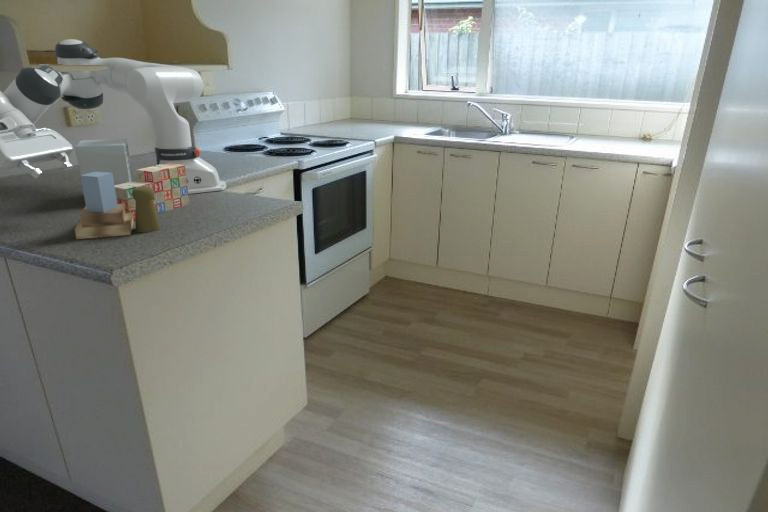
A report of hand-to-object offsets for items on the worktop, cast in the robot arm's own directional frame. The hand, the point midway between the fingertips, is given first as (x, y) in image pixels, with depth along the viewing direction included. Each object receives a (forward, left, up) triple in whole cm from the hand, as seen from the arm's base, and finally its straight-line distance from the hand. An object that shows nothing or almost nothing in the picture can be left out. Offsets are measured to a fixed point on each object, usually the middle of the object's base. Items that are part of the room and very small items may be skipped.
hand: (55, 172), depth 132 cm
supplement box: (-8, -28, -14) cm, 32 cm away
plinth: (-10, +7, -14) cm, 19 cm away
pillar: (-10, +7, -8) cm, 15 cm away
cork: (-20, +9, -14) cm, 27 cm away
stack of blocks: (-21, -8, -14) cm, 27 cm away
